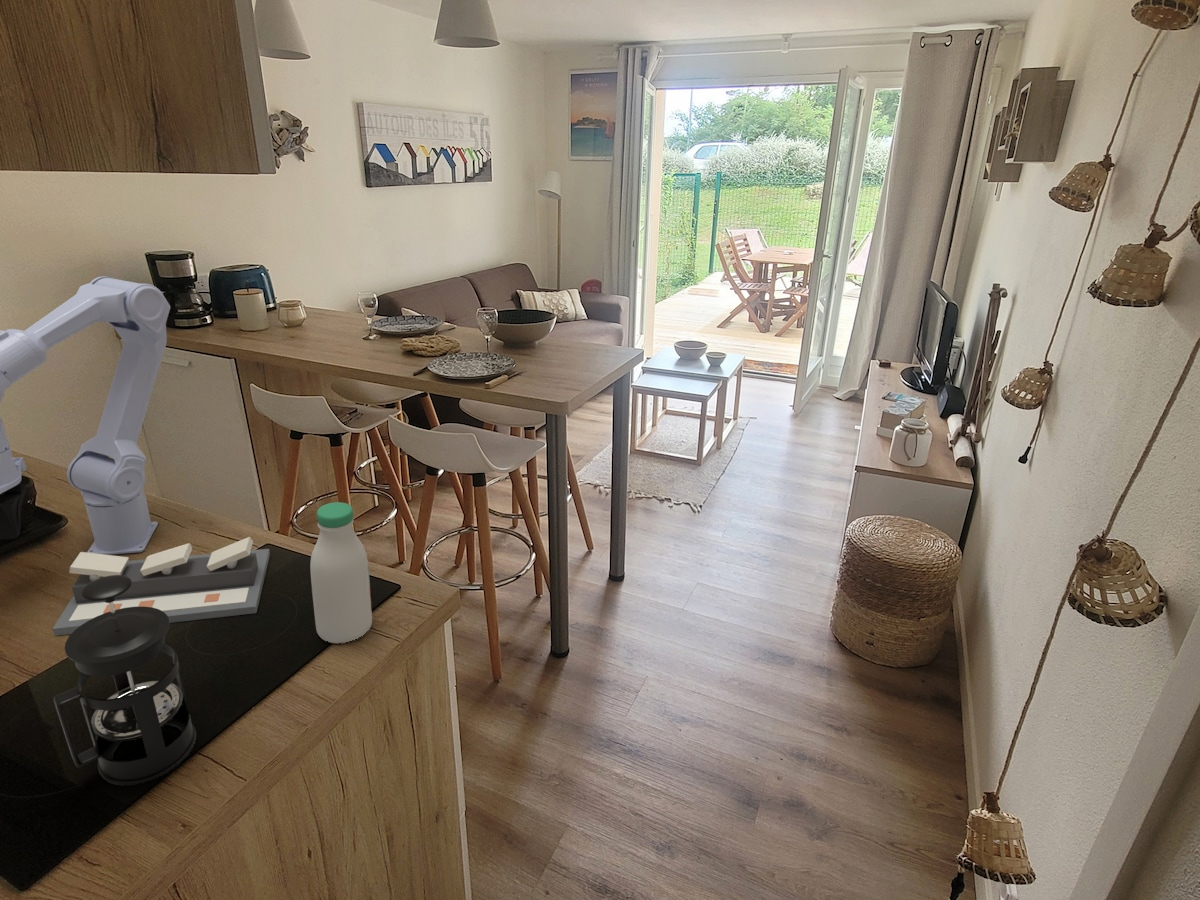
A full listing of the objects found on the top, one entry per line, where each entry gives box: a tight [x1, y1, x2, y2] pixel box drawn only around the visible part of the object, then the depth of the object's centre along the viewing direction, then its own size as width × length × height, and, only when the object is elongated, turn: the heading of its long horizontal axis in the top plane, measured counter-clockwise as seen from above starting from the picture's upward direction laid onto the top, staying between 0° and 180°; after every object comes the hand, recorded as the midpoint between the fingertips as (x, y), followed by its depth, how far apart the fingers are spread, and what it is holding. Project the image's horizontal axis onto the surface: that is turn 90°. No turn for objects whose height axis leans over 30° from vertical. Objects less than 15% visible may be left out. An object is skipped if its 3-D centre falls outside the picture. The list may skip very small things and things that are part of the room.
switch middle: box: [140, 542, 193, 576], centre depth 100 cm, size 4×6×2 cm, turn 108°
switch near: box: [69, 551, 130, 581], centre depth 97 cm, size 4×6×2 cm, turn 108°
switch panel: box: [52, 548, 271, 637], centre depth 101 cm, size 16×25×4 cm, turn 108°
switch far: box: [207, 536, 254, 571], centre depth 102 cm, size 4×6×2 cm, turn 108°
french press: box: [53, 575, 197, 787], centre depth 71 cm, size 12×9×23 cm
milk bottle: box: [309, 501, 373, 644], centre depth 93 cm, size 8×8×20 cm
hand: (9, 536), depth 95 cm, fingers closed
